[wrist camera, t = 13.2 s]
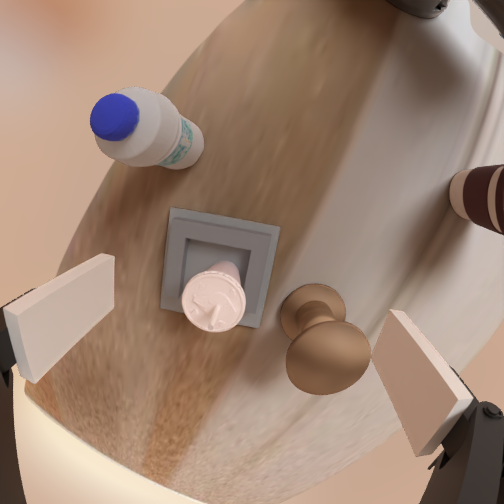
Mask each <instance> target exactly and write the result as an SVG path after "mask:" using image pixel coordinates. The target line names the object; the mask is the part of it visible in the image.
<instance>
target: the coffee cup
mask: <svg viewBox="0 0 504 504" xmlns="http://www.w3.org/2000/svg"><path fill="white" fill-rule="evenodd" d="M449 195H450V202H451V205H452V207H453V209H454V211H455V212H456V213H457V214H458V215H459V216H460V217H462V218H465V219H468V220H470V221H472V222H474V223H475V224H477V225H479V226H482V227H484V228H487V229H489V230H492V231H494V232H497V233H499V234H502V235H504V164H502V165H493V166H484V167H477V168H475V169H471V170H463V171H460V172H459V173H457V174H456V175H455V176H454V178H453V179H452V182H451V185H450V191H449Z"/></svg>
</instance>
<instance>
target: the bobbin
mask: <svg viewBox="0 0 504 504" xmlns="http://www.w3.org/2000/svg"><path fill="white" fill-rule="evenodd" d="M345 316H346V309H345V305H344V302H343V300H342V299H341V297H340V296H339V294H338V293H337V292H336V291H335V290H334V289H332V288H330V287H329V286H326V285H322V284H308V285H304V286H302V287H299V288H298V289H296V290H295V291H293V292H292V293H291V294H290V295H289V296H288V297H287V298H286V300H285V301H284V303H283V306H282V309H281V324H282V328H283V330H284V332H285V333H286V335H287V336H288V337H289V338H290V339H292V340H293V342H292V343H291V345H290V346H289V348H288V351H287V355H286V369H287V374H288V377H289V379H290V381H291V382H292V383H293V384H294V385H295V386H296V387H297V388H298V389H300V390H302V391H304V392H306V393H310V394H314V395H328V394H333V393H337V392H340V391H342V390H344V389H346V388H348V387H350V386H351V385H353V384H354V383H355V382H357V381H358V380H359V379H360V378H361V376H362V375H363V374H364V372H365V371H366V369H367V367H368V365H369V362H370V358H371V349H370V345H369V342H368V340H367V339H366V337H365V335H364V334H363V332H362V331H361V330H360V329H359V328H357V327H356V326H355V325H353V324H351V323H348V322H344V321H345Z"/></svg>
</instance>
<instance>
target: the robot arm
mask: <svg viewBox="0 0 504 504" xmlns="http://www.w3.org/2000/svg"><path fill="white" fill-rule="evenodd" d="M387 1H388V2H390V3H391V4H393V5H394V6H396V7H398V8H399V9H401V10H403V11H405V12H407V13H410V14H412V15H415V16H419V17H423V18H434V17H437V16H438V15H440V14H441V13H442V12H443V11H444V10H445V9H446V8H447V6H448V3H449V0H387ZM472 1H474V3H475V4H476V5H477V6H478V7H479V8H480V9H481V11H482V12H483V13H484V14H485V15H486V16H487V18H488V19H489V20H490V21H491V23H492V24H493V25H494V26H495V28H496V29H497V30H498V31H499V34H500V36H501V37H502V38H503V39H504V0H472ZM114 260H115V256H112V255H108V254H104V253H101V254H99V255H97V256H95V257H93V258H91V259H89V260H87V261H85V262H83V263H81V264H79V265H77V266H76V267H74V268H72V269H70V270H68V271H66V272H64V273H63V274H61V275H59V276H57V277H55V278H53V279H52V280H50V281H48V282H46V283H45V284H43V285H41V286H39V287H37V288H34V289H31V290H30V291H28V292H26V293H24V295H21V296H20V297H18V298H17V299H14V300H12V301H11V302H9V303H7V304H6V305H4V306H2V307H1V308H0V504H27V503H26V499H25V495H24V491H23V486H22V481H21V476H20V470H19V464H18V458H17V450H16V441H15V430H14V414H13V372H12V369H11V367H12V366H13V365H14V364H16V363H17V366H18V369H19V373H20V375H21V376H22V377H23V378H25V379H27V380H28V381H30V382H32V383H33V384H36V383H37V382H38V381H39V380H40V379H41V378H42V377H43V376H44V375H45V374H46V373H47V372H48V371H49V370H50V369H51V368H52V367H53V366H54V365H55V364H56V363H57V362H58V361H59V360H60V359H61V358H62V357H63V356H64V355H65V354H66V353H67V352H68V351H69V350H70V349H71V348H72V347H73V346H74V345H75V344H76V343H77V342H78V341H79V340H80V339H81V338H82V337H83V336H85V335H86V334H87V333H88V332H89V331H90V330H91V329H92V328H93V327H94V326H95V325H96V324H97V323H98V322H99V321H101V320H102V319H103V318H104V317H105V316H106V315H107V314H108V313H109V312H110V311H111V310H113V309H114ZM371 359H372V361H373V363H374V365H375V367H376V369H377V372H378V374H379V376H380V378H381V380H382V382H383V384H384V386H385V388H386V390H387V393H388V395H389V397H390V399H391V401H392V403H393V406H394V408H395V410H396V412H397V414H398V417H399V419H400V421H401V423H402V426H403V428H404V430H405V432H406V435H407V437H408V439H409V442H410V444H411V446H412V449H413V451H414V454H415V456H416V457H418V456H424V455H430V454H432V453H433V452H434V451H435V450H436V449H437V447H438V446H439V445H440V444H442V446H443V448H444V450H443V451H442V453H441V454H440V455H439V456H438V457H437V458H436V459H435V460H434V462H433V463H432V464H431V465H430V466H429V467H428V469H429V470H430V469H431V468H432V467H433V466H435V468H434V471H433V473H432V476H431V478H430V481H429V483H428V485H427V488H426V490H425V492H424V494H423V497H422V499H421V501H420V503H419V504H504V416H503V413H502V411H501V410H500V409H499V408H498V407H497V406H496V405H494V404H492V403H490V402H487V401H485V402H480V403H479V402H478V400H477V399H476V397H475V396H474V395H473V393H472V392H471V391H470V390H469V388H468V387H467V385H466V384H464V382H463V380H462V379H461V378H459V375H458V374H457V373H456V371H455V370H454V369H453V368H452V367H450V366H449V365H448V364H447V363H446V362H445V360H444V359H443V358H442V357H441V355H440V354H439V353H438V352H437V350H436V349H435V348H434V347H433V346H432V344H431V343H430V342H429V341H428V340H427V338H426V337H425V336H424V335H423V334H422V333H421V331H420V330H419V329H418V328H417V327H416V326H415V324H414V323H413V322H412V321H411V320H410V319H409V318H408V316H407V315H406V314H405V313H404V312H403V311H399V310H392V309H390V310H389V313H388V315H387V318H386V321H385V323H384V326H383V328H382V331H381V333H380V336H379V338H378V341H377V343H376V346H375V348H374V350H373V353H372V355H371Z"/></svg>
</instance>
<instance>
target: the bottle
mask: <svg viewBox="0 0 504 504" xmlns="http://www.w3.org/2000/svg"><path fill="white" fill-rule="evenodd" d="M90 125H91V128H92V131H93V132H94V134H95V139H96V142H97V144H98V146H99V148H100V149H101V151H102V152H103V153H104V154H105V155H107V156H108V157H110V158H112V159H115V160H117V161H119V162H122V163H123V164H125V165H128V166H132V167H147V166H152V165H160V166H163V167H166V168H169V169H175V170H176V169H184V168H187V167H190V166H192V165H193V164H195V163H196V161H197V160H198V158H199V157H200V155H201V154H202V152H203V150H204V139H203V135H202V132H201V130H200V129H199V128H198V127H197V125H195V124H194V123H193V122H191V121H190V120H188V119H186V118H184V117H183V116H182V115H180V114H179V112H178V110H177V108H176V107H175V106H174V105H173V104H172V102H171V101H170V100H169V99H168V98H166V97H165V96H163V95H161V94H159V93H156V92H152V91H150V90H147V89H145V88H142V87H128V88H124V89H121V90H119V91H117V92H115V93H114V94H109V95H106V96H105V97H103V98H101V99H100V100H99V101H98V102H97V103H96V105H95V106H94V108H93V110H92V113H91V117H90Z"/></svg>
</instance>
